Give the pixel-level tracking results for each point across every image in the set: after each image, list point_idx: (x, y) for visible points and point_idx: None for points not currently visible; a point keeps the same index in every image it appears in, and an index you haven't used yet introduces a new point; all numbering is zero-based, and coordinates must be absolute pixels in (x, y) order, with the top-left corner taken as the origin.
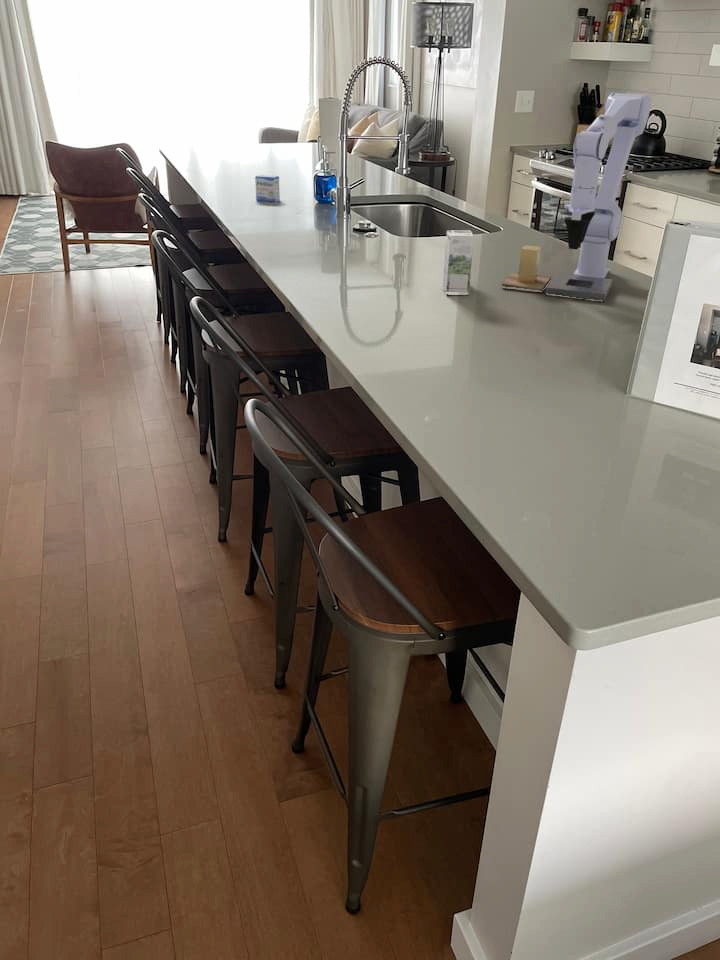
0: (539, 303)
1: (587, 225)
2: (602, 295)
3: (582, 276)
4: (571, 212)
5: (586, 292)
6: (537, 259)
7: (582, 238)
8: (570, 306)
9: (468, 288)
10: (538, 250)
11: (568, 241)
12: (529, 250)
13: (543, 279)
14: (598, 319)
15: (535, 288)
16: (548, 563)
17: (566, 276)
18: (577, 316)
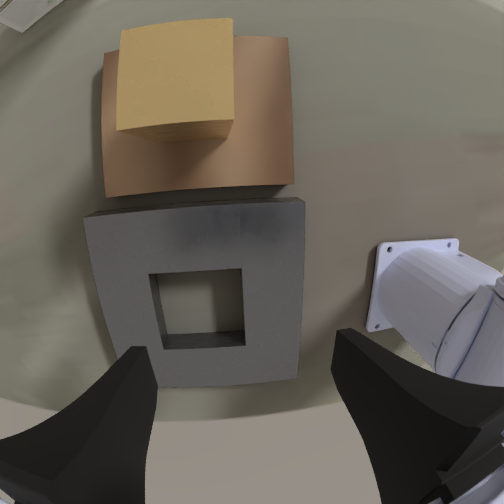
0: (26, 222)
1: (371, 453)
2: None
3: (298, 300)
4: (478, 433)
5: (113, 344)
6: (169, 131)
7: (339, 384)
8: (51, 303)
9: (11, 27)
10: (155, 126)
11: (111, 367)
12: (118, 79)
13: (232, 164)
14: (26, 363)
15: (104, 171)
16: None
17: (272, 249)
18: (11, 326)
